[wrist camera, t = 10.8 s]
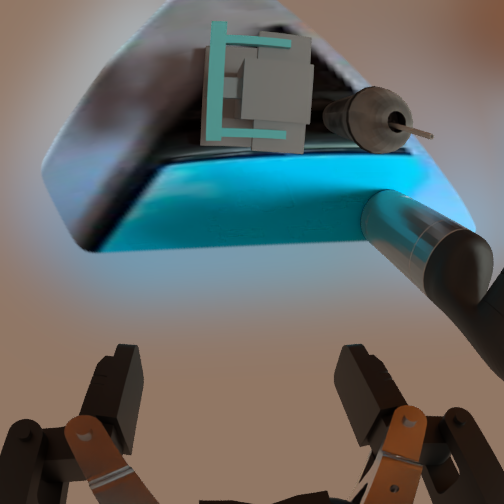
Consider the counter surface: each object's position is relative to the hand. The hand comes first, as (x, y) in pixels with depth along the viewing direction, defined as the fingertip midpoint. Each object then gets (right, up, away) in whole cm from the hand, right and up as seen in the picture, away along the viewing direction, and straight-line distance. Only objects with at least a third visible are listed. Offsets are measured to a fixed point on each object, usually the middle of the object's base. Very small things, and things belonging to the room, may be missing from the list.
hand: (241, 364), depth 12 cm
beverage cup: (+12, +23, +28) cm, 38 cm away
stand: (-1, +24, +26) cm, 35 cm away
